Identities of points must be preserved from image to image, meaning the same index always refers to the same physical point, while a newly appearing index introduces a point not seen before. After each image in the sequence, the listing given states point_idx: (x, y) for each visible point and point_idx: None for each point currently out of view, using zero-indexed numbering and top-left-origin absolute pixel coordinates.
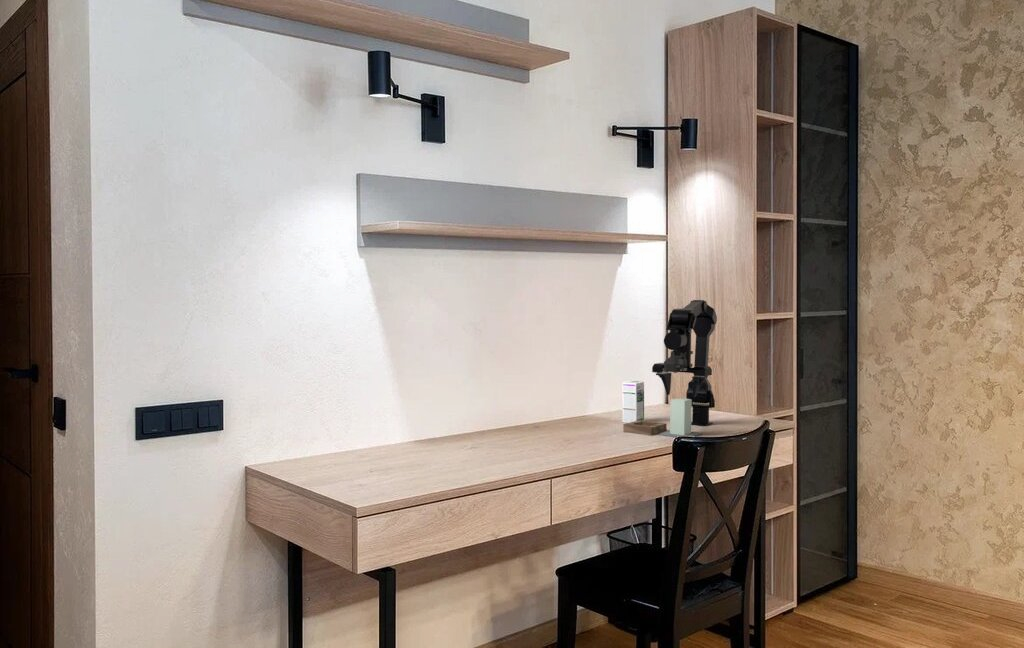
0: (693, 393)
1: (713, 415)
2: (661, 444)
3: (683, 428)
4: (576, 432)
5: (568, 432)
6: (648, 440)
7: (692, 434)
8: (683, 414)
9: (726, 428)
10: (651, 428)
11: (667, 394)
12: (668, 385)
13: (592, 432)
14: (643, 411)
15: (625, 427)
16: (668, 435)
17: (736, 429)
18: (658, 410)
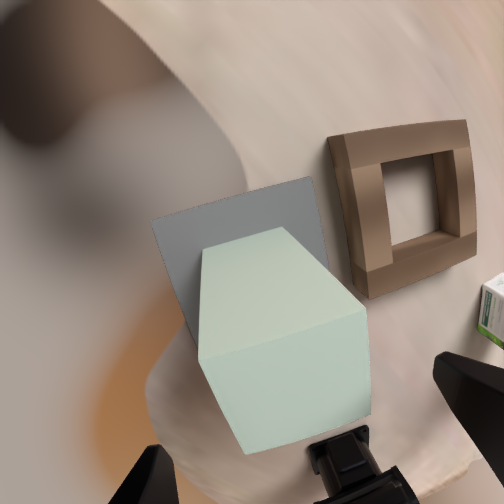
0: (142, 471)
1: None
2: (134, 16)
3: (206, 258)
4: (485, 15)
5: (490, 5)
6: (242, 29)
7: (192, 296)
8: (207, 292)
9: (239, 467)
10: (341, 135)
11: (442, 353)
12: (492, 420)
13: (473, 40)
14: (500, 342)
15: (450, 120)
16: (259, 189)
17: (209, 474)
18: None
